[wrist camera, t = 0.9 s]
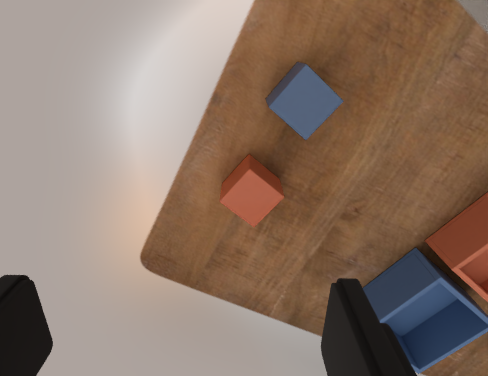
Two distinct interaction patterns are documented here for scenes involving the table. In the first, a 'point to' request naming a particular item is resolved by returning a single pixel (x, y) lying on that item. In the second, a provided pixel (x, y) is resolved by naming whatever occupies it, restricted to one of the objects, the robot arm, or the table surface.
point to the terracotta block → (251, 191)
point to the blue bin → (425, 310)
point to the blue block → (303, 100)
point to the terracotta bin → (466, 245)
